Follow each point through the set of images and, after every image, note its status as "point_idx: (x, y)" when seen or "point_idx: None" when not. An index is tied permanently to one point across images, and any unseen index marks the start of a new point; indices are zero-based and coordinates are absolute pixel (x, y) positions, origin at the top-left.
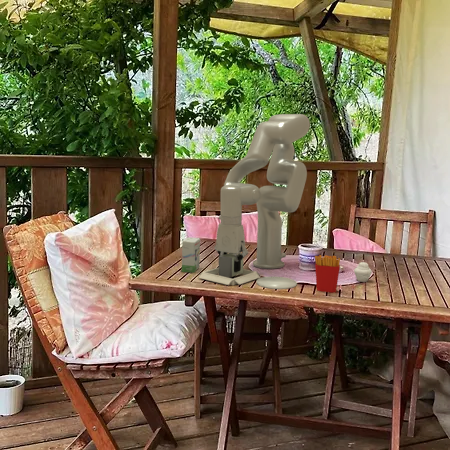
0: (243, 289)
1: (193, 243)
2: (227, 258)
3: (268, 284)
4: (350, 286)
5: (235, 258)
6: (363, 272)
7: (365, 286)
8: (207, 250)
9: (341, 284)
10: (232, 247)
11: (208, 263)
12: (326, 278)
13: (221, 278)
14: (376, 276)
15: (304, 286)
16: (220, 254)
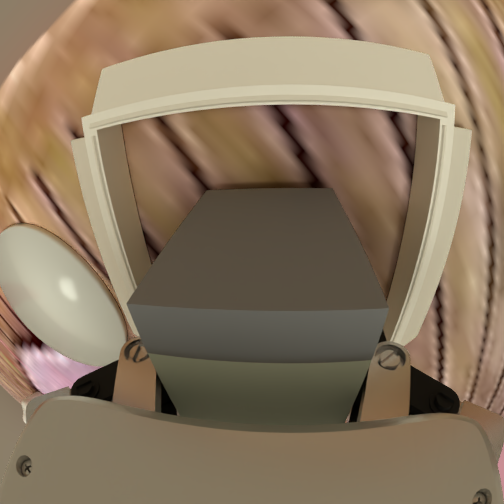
0: (30, 114)
1: None
2: (168, 300)
3: (25, 255)
4: (12, 360)
5: (146, 365)
6: (22, 402)
7: (12, 369)
8: (497, 410)
9: (25, 367)
10: (69, 488)
11: (487, 354)
12: None
13: (194, 83)
14: None
15: (15, 318)
16: (405, 381)
